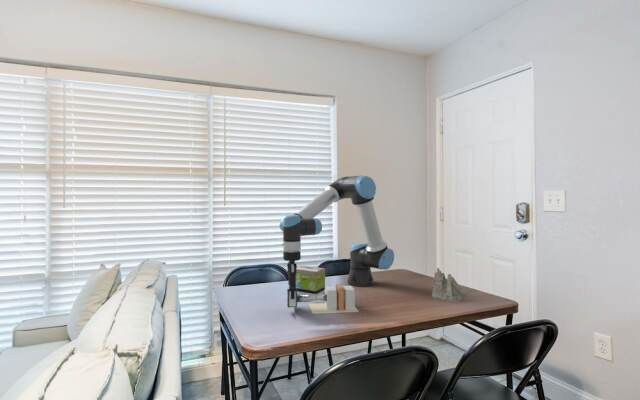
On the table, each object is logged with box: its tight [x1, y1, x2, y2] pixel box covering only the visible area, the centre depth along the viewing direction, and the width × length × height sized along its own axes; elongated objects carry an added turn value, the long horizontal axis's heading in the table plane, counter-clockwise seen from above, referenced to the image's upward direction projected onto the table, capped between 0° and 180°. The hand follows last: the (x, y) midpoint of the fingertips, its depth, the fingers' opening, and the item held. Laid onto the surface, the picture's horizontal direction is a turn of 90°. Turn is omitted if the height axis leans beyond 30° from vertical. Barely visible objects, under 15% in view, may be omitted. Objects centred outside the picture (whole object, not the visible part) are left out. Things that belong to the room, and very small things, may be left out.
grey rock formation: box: [431, 267, 463, 302], centre depth 179 cm, size 16×16×15 cm
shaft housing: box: [308, 285, 359, 315], centre depth 156 cm, size 20×14×10 cm
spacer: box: [335, 283, 344, 310], centre depth 157 cm, size 2×8×10 cm, turn 7°
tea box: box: [296, 264, 326, 295], centre depth 178 cm, size 15×10×15 cm, turn 62°
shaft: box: [286, 288, 327, 308], centre depth 155 cm, size 18×4×7 cm, turn 97°
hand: (292, 303), depth 154 cm, fingers open, 7 cm apart
